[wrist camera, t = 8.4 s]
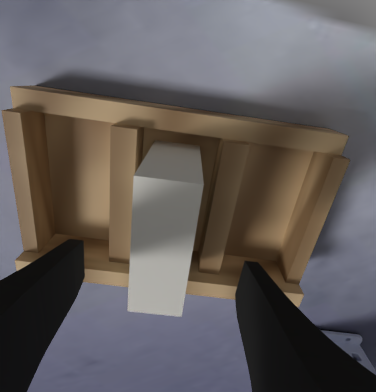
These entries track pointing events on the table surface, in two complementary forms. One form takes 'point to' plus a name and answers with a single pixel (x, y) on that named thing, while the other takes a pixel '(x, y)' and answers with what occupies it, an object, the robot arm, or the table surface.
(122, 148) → the wooden compartment tray
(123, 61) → the table surface
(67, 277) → the robot arm
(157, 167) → the white rectangular box
